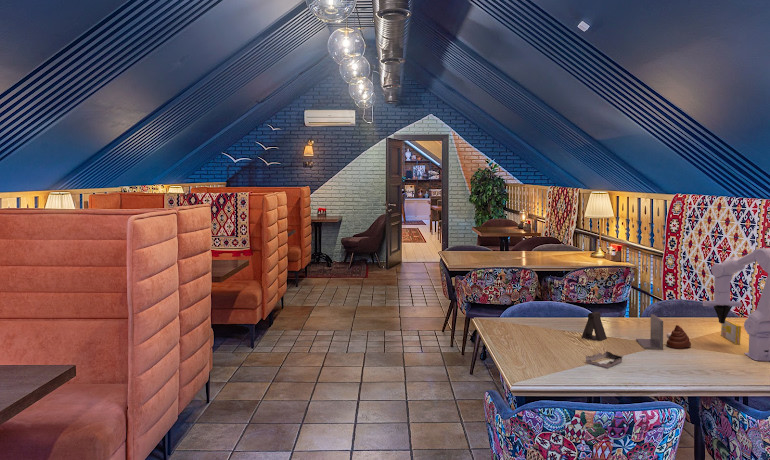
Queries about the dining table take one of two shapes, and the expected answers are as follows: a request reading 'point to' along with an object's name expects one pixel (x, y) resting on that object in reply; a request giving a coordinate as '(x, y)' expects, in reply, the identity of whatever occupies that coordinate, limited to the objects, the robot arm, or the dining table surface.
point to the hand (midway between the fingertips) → (721, 322)
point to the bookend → (654, 335)
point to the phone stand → (594, 327)
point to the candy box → (731, 331)
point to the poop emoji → (678, 339)
